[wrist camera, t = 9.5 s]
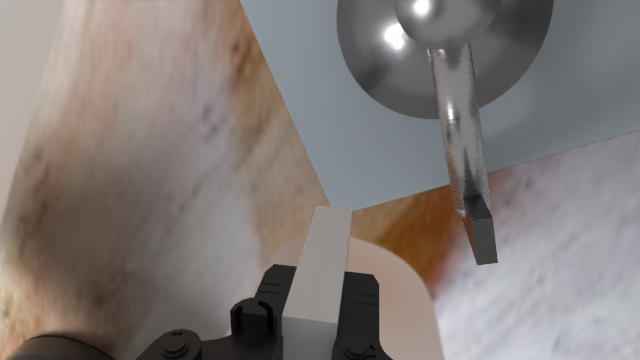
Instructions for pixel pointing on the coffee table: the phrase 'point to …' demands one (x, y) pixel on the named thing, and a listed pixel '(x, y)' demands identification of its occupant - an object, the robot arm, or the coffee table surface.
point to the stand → (425, 134)
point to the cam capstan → (446, 77)
